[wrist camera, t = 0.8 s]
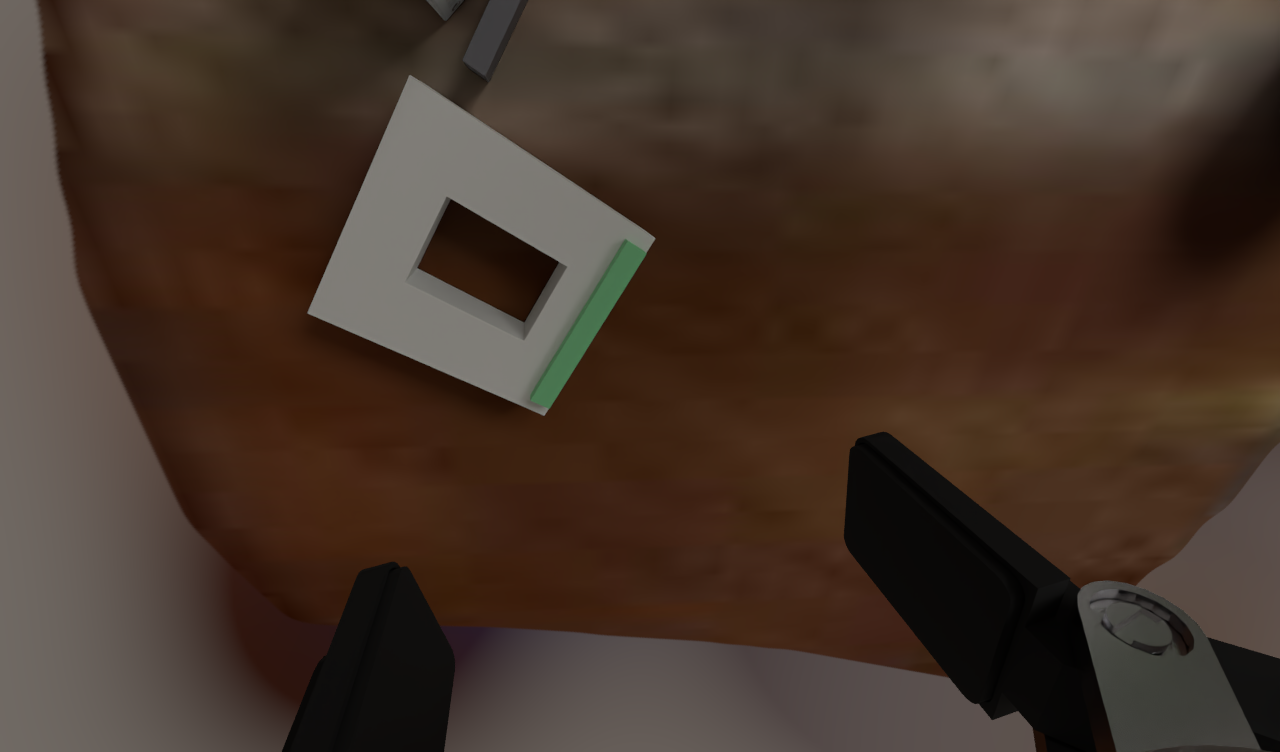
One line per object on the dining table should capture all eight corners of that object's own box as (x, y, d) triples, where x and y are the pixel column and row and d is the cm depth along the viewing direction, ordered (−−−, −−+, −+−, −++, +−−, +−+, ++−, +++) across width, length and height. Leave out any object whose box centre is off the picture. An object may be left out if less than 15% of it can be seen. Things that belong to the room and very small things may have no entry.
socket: (423, 82, 27) (406, 72, 23) (643, 229, 33) (658, 240, 29) (329, 295, 30) (301, 317, 27) (542, 392, 36) (544, 421, 32)
